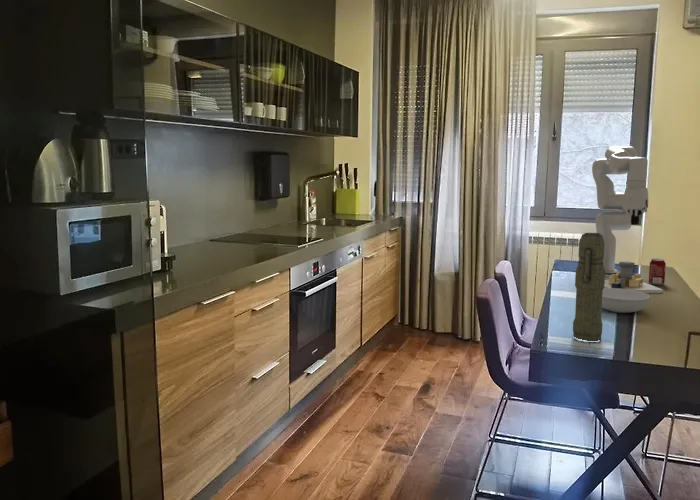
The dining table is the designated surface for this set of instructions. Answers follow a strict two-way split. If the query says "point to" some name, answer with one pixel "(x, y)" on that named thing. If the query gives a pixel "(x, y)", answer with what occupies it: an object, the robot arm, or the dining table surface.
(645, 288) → the hub plate
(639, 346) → the dining table surface
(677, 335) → the dining table surface
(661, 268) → the soda can
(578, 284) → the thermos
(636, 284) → the tan ring with handle
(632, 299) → the serving bowl
